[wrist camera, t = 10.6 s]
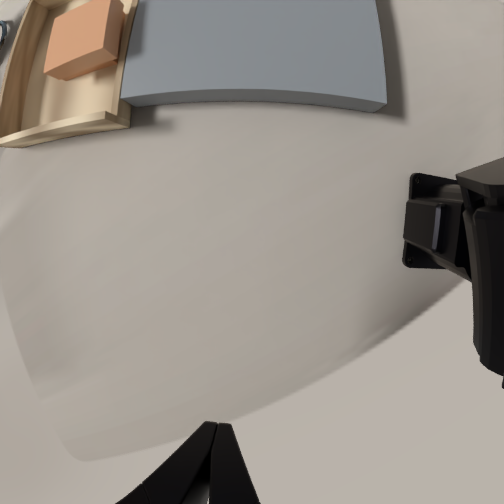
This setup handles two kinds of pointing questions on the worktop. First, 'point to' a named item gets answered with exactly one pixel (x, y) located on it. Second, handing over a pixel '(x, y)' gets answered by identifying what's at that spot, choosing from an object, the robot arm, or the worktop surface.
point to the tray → (58, 84)
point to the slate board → (256, 53)
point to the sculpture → (3, 32)
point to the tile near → (84, 38)
